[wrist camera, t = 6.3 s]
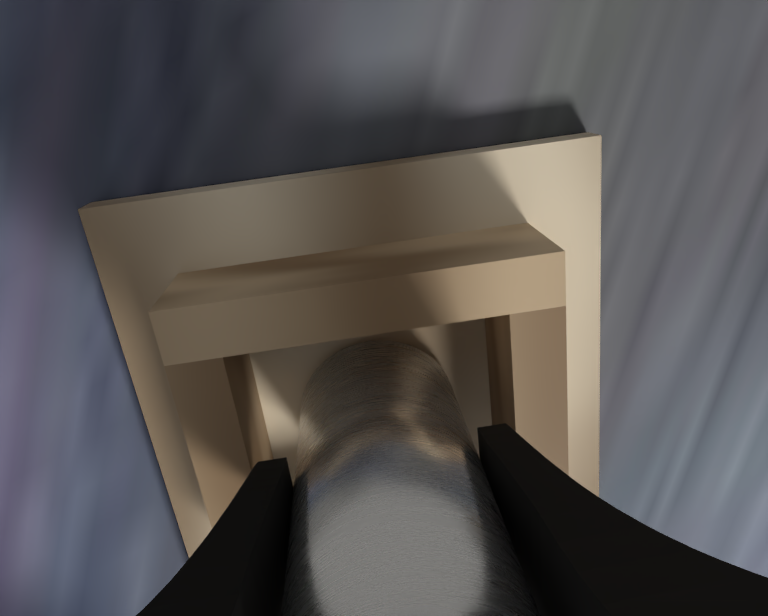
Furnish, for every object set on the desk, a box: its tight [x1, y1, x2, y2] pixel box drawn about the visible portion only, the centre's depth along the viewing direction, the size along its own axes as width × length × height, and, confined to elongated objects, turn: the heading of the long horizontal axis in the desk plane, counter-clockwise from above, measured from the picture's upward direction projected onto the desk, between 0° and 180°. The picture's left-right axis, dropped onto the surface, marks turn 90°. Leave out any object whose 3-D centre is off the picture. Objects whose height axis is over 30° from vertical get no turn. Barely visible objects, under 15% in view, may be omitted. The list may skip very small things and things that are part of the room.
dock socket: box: [78, 132, 601, 558], centre depth 15 cm, size 12×12×3 cm
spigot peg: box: [282, 340, 540, 616], centre depth 12 cm, size 4×4×8 cm
